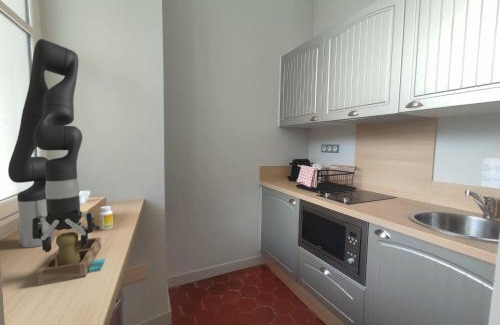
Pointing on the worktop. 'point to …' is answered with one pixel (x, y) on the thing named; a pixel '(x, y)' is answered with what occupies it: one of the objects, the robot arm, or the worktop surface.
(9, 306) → the worktop surface
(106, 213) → the supplement bottle
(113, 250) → the worktop surface
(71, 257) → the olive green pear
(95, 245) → the wooden divided tray
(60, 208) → the robot arm
